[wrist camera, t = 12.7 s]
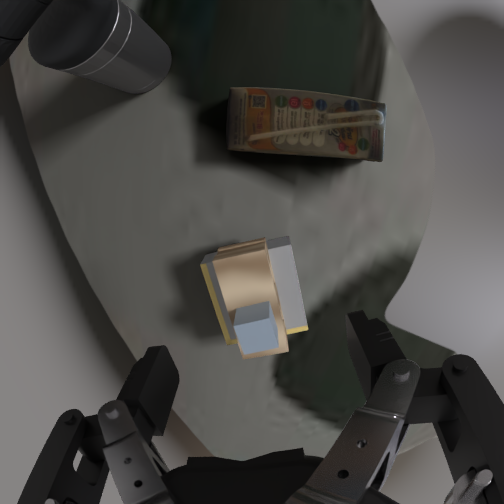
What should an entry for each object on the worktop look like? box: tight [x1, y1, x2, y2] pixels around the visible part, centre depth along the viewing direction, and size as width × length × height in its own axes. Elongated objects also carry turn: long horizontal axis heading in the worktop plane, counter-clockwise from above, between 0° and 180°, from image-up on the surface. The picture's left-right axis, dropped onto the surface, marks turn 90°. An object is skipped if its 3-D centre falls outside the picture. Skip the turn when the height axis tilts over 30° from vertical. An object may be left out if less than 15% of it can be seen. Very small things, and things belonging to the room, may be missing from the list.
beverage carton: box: [226, 87, 386, 162], centre depth 34 cm, size 8×19×7 cm, turn 88°
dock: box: [200, 236, 308, 345], centre depth 43 cm, size 13×12×4 cm
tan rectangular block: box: [212, 237, 289, 359], centre depth 38 cm, size 14×6×5 cm, turn 14°
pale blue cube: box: [233, 301, 279, 355], centre depth 34 cm, size 4×4×4 cm
